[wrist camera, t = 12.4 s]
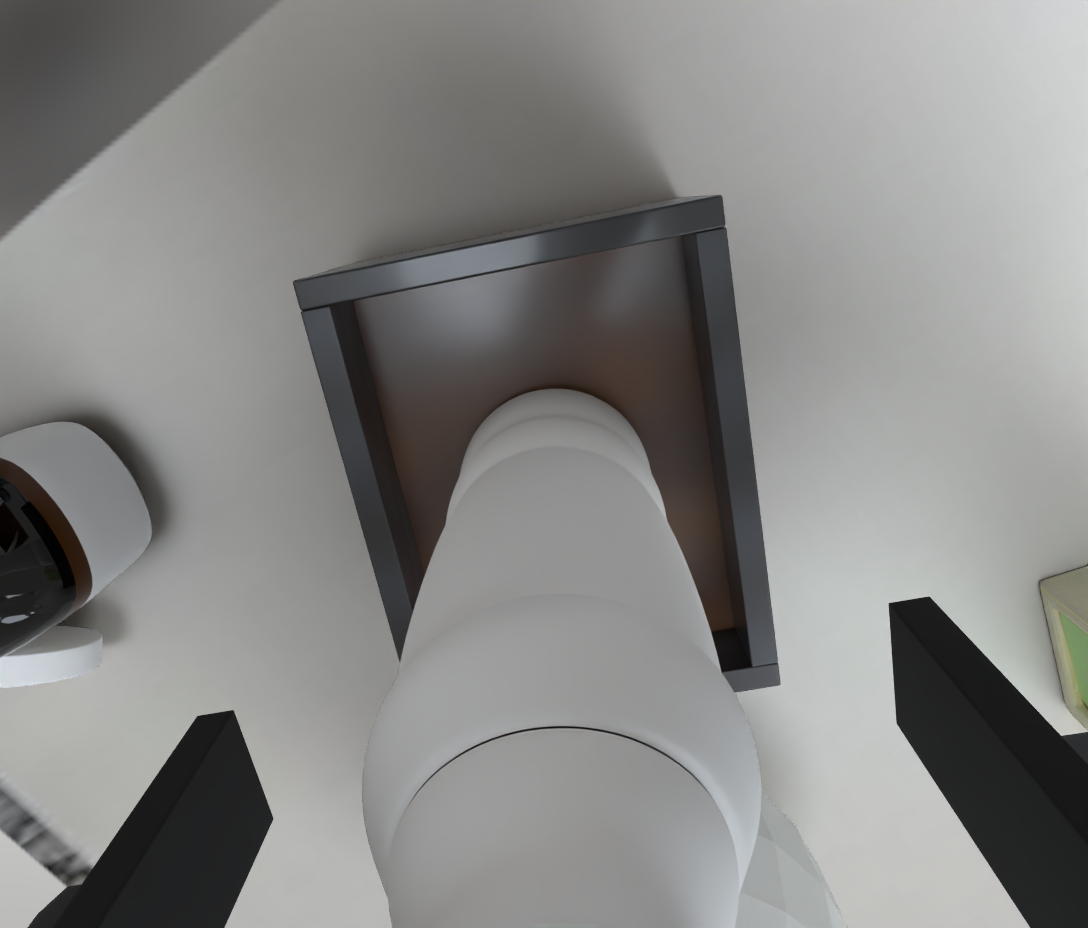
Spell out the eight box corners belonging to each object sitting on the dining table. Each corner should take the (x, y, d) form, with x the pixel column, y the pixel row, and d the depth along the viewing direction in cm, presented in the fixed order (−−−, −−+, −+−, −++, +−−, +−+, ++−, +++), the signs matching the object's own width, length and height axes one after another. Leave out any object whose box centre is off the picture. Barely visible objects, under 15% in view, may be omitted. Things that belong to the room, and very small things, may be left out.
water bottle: (582, 587, 33) (670, 1625, 9) (431, 500, 31) (60, 1419, 8) (682, 445, 31) (1138, 1279, 7) (524, 348, 30) (420, 938, 6)
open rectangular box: (355, 262, 35) (291, 281, 26) (678, 197, 34) (722, 194, 25) (449, 628, 40) (422, 743, 31) (730, 580, 39) (781, 685, 30)
